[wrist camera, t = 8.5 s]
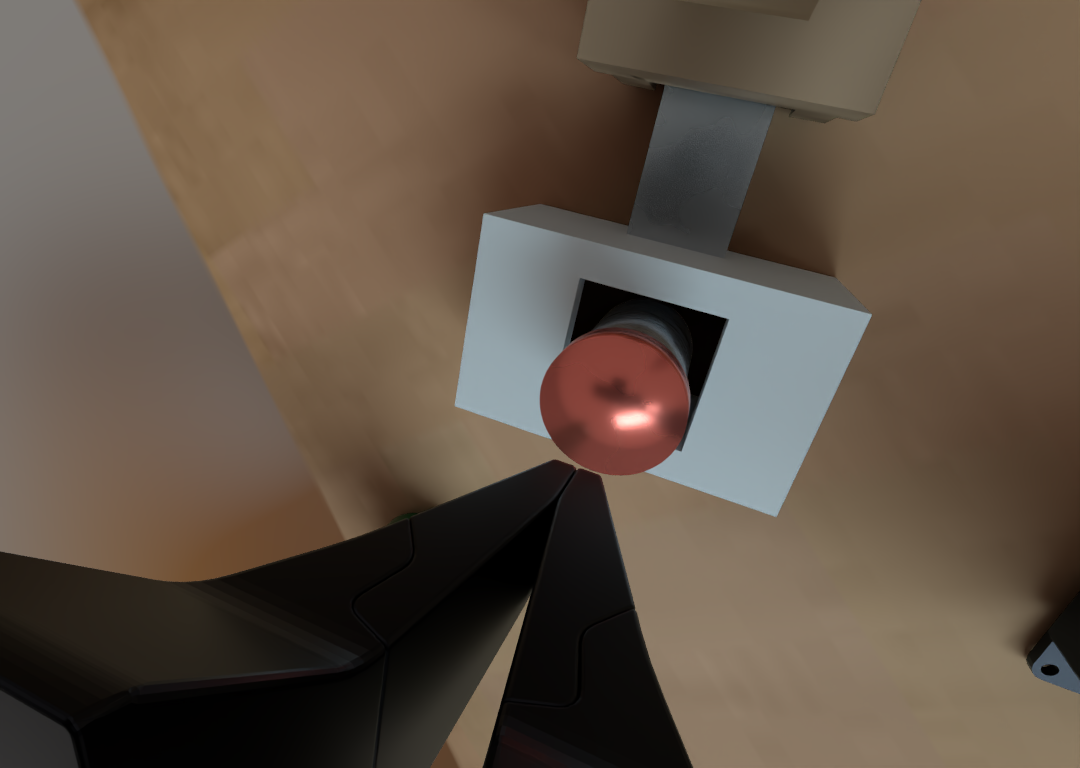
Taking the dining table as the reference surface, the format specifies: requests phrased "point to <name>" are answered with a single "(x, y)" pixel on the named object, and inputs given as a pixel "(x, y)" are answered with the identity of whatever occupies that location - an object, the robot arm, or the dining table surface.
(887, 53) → the carriage
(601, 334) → the plunger
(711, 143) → the rail
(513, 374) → the button housing
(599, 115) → the dining table surface
